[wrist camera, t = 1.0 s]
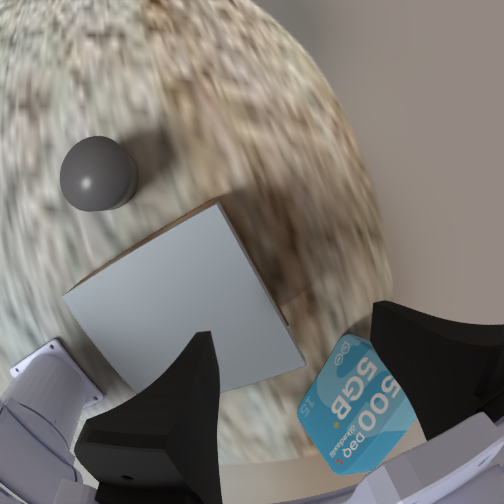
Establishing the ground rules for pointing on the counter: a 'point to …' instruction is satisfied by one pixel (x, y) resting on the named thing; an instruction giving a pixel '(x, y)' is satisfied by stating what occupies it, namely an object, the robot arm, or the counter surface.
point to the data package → (355, 408)
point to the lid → (186, 306)
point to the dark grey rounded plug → (98, 175)
